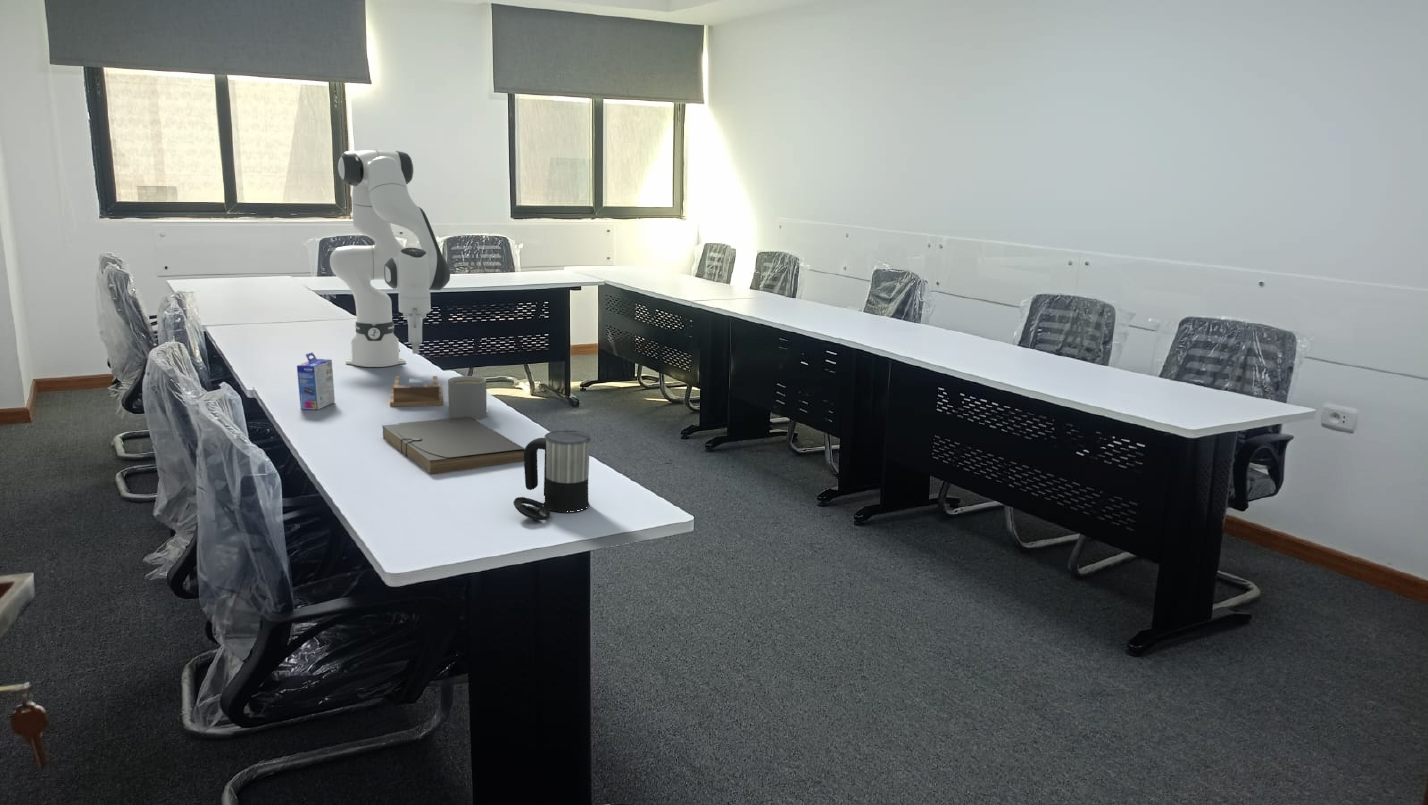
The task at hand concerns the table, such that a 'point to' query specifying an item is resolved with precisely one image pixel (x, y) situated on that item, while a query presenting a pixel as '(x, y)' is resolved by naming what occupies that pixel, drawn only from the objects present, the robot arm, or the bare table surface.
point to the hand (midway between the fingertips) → (415, 352)
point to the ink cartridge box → (315, 383)
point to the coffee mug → (467, 397)
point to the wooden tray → (416, 394)
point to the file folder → (452, 444)
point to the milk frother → (557, 473)
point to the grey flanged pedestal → (416, 382)
